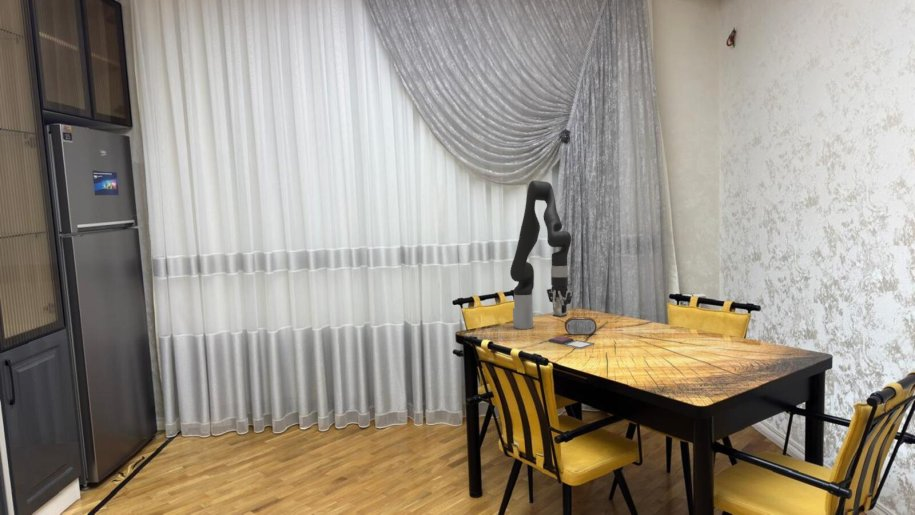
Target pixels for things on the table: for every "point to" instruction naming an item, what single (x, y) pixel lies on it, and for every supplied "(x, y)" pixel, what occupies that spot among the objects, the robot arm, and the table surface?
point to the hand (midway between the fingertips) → (559, 312)
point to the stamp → (558, 308)
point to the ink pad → (561, 340)
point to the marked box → (579, 344)
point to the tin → (580, 326)
